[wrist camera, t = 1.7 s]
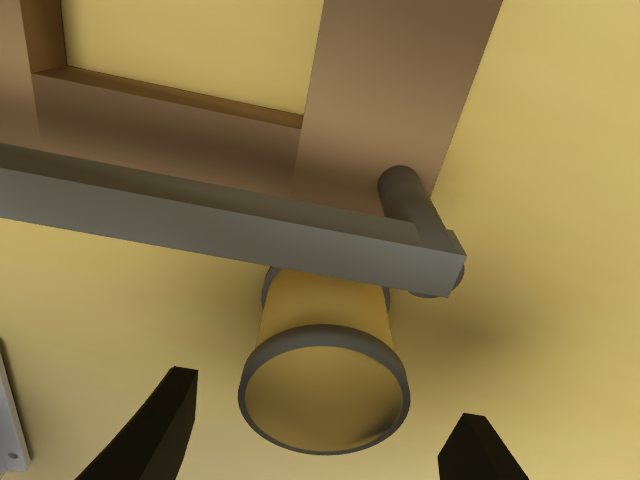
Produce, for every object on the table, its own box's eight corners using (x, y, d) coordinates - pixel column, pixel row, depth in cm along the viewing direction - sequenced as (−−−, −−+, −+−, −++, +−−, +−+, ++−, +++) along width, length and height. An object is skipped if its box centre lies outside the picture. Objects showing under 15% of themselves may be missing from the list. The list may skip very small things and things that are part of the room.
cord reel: (369, 348, 17) (383, 464, 13) (256, 329, 16) (230, 443, 12) (403, 253, 14) (435, 357, 10) (272, 229, 14) (247, 326, 10)
